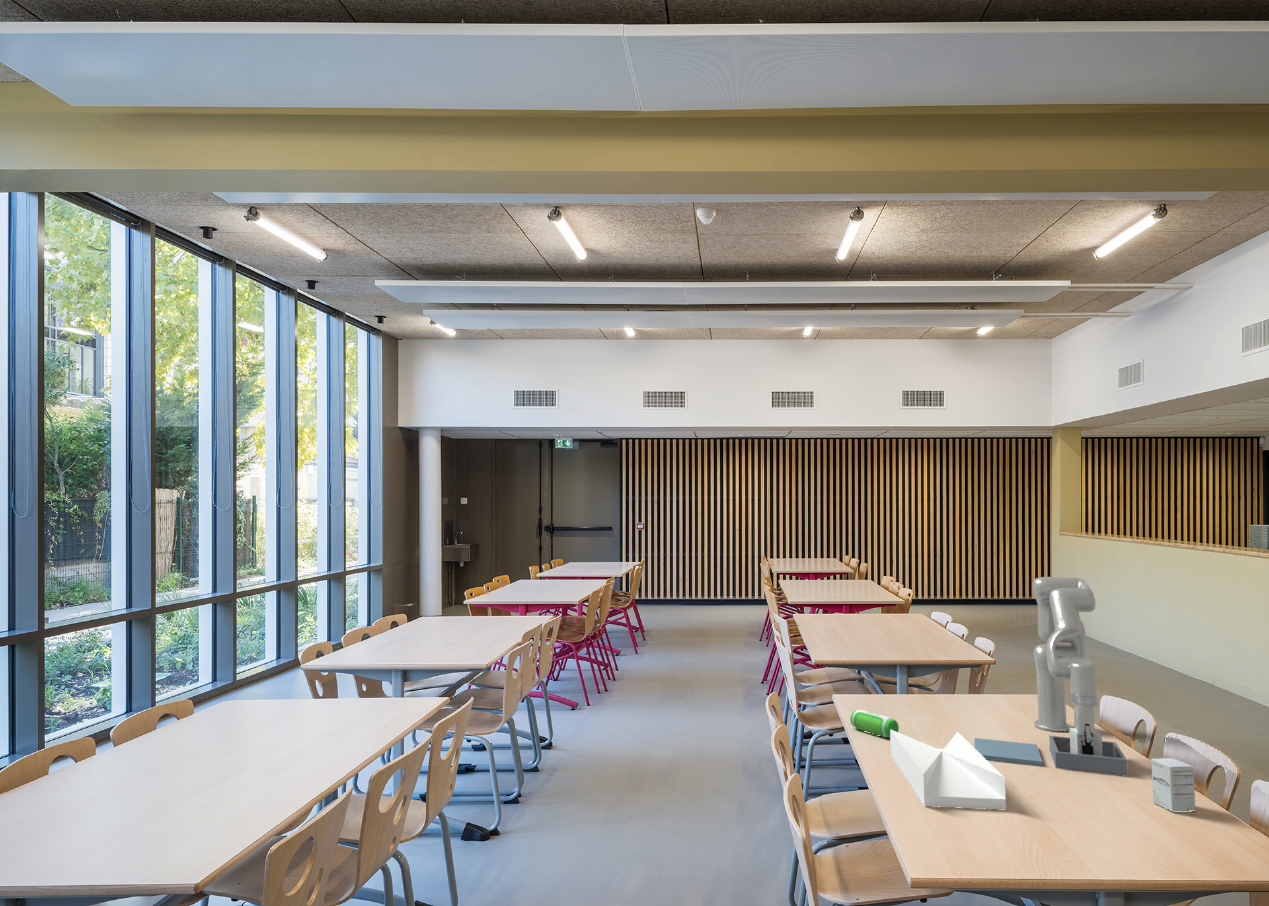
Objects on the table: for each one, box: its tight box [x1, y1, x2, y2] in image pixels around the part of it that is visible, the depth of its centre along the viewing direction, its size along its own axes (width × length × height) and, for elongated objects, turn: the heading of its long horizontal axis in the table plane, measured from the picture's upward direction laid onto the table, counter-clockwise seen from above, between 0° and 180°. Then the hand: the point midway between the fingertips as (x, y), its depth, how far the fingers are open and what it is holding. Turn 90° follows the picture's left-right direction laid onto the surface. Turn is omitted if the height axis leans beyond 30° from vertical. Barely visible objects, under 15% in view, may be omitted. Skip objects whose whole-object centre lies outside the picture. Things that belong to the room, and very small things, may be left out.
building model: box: [889, 729, 1007, 810], centre depth 241 cm, size 45×22×10 cm, turn 173°
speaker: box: [849, 709, 900, 739], centre depth 291 cm, size 18×7×8 cm, turn 33°
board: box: [974, 737, 1043, 767], centre depth 267 cm, size 20×20×2 cm
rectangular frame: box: [1048, 735, 1129, 776], centre depth 258 cm, size 20×20×5 cm
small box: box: [1069, 727, 1103, 756], centre depth 258 cm, size 8×6×10 cm
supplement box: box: [1150, 757, 1196, 812], centre depth 220 cm, size 7×7×13 cm
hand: (1086, 753), depth 258 cm, fingers closed on small box, 6 cm apart
